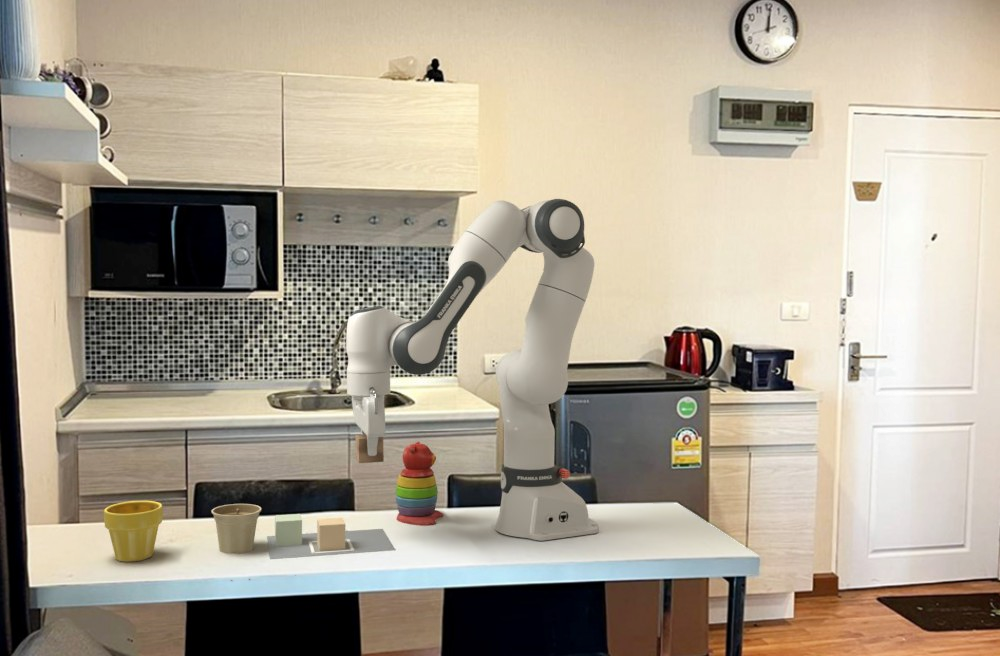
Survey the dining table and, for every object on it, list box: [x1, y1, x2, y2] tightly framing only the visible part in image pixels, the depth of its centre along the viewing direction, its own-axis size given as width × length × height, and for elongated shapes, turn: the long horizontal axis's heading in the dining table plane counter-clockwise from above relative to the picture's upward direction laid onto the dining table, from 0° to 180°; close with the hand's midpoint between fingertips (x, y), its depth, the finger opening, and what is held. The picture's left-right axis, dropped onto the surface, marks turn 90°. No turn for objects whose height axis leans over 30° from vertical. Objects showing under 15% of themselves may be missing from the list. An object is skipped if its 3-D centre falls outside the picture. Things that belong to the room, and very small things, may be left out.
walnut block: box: [354, 434, 385, 464], centre depth 183 cm, size 5×5×5 cm
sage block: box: [274, 513, 303, 547], centre depth 179 cm, size 5×5×5 cm
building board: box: [266, 517, 396, 560], centre depth 179 cm, size 24×16×6 cm, turn 107°
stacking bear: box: [395, 441, 444, 527], centre depth 198 cm, size 11×10×18 cm
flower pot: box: [210, 503, 262, 555], centre depth 174 cm, size 9×9×9 cm
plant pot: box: [103, 500, 163, 563], centre depth 170 cm, size 10×10×10 cm
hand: (369, 452), depth 183 cm, fingers closed on walnut block, 5 cm apart
